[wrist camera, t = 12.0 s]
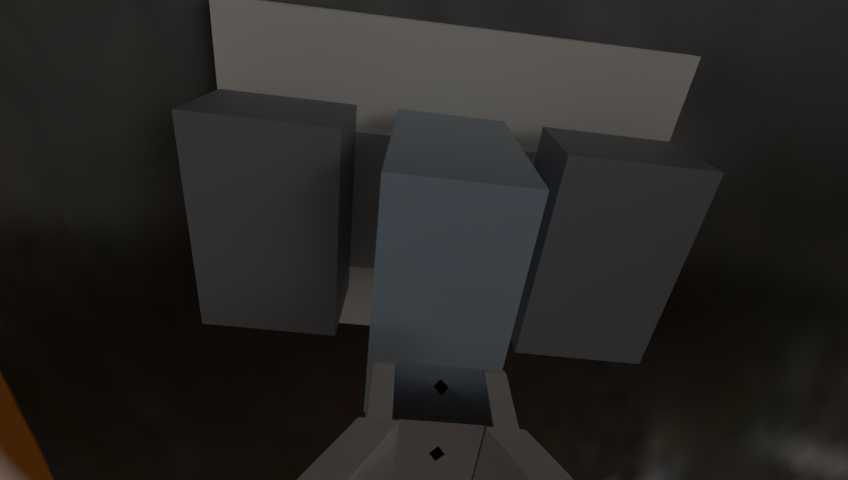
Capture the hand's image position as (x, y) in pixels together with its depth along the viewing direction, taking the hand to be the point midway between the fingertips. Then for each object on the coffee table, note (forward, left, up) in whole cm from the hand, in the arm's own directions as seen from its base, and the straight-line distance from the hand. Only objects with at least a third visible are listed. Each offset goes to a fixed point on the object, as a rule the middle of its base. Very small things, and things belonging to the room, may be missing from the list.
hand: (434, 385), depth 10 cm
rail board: (0, 0, -12) cm, 12 cm away
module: (0, 0, -10) cm, 10 cm away
